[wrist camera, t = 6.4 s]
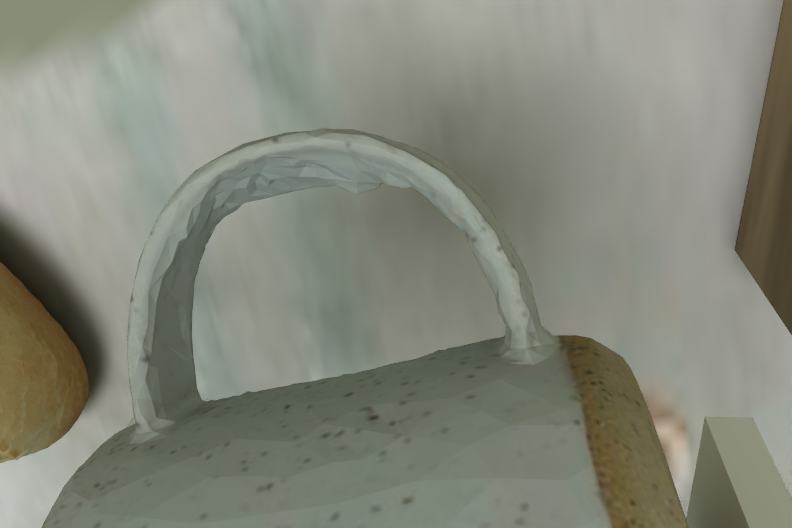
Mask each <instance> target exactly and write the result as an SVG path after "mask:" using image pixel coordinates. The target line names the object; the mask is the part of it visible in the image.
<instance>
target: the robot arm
mask: <svg viewBox="0 0 792 528" xmlns="http://www.w3.org/2000/svg"><path fill="white" fill-rule="evenodd" d="M133 424H135V419H134V417H133V419H132V420H131V422H130V423H129V425H128V426H127V427H129V426H131V425H133ZM686 521H687V524H688V527H689V528H792V498H791V496H790V494H789V492H788V490H787V488H786V486H785V484H784V482H783V480H782V478H781V476H780V474H779V472H778V470H777V467H776V465H775V463H774V461H773V459H772V457H771V455H770V453H769V451H768V449H767V447H766V445H765V443H764V441H763V439H762V437H761V435H760V433H759V431H758V429H757V426H756V424H755V422H754V420H753V418H726V417H705V420H704V426H703V431H702V437H701V442H700V447H699V453H698V458H697V464H696V469H695V475H694V480H693V486H692V491H691V496H690V502H689V507H688V513H687V518H686Z"/></svg>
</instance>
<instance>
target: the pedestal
mask: <svg viewBox="0 0 792 528" xmlns="http://www.w3.org/2000/svg"><path fill="white" fill-rule="evenodd" d="M735 251H736V253H737V254H738V256H739V257H740V259H741V260H742V261H743V263H744V264H745V266H746V267H747V269H748V270H749V272H750V273H751V275H752V276H753V278H754V279H755V281H756V282H757V284H758V285H759V287H760V288H761V290H762V291H763V293H764V294H765V296H766V297H767V299H768V300H769V302H770V303H771V305H772V306H773V308H774V309H775V311H776V312H777V314H778V315H779V317H780V318H781V320H782V321H783V323H784V324H785V326H786V327H787V329H788V330H789V332H790V333H791V335H792V0H784V4H783V9H782V14H781V19H780V24H779V29H778V34H777V39H776V44H775V49H774V55H773V60H772V65H771V70H770V75H769V80H768V85H767V90H766V95H765V100H764V105H763V110H762V115H761V121H760V126H759V131H758V136H757V141H756V146H755V151H754V156H753V161H752V166H751V171H750V176H749V181H748V187H747V192H746V197H745V202H744V207H743V212H742V217H741V222H740V227H739V232H738V237H737V242H736V247H735Z"/></svg>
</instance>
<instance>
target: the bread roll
mask: <svg viewBox="0 0 792 528" xmlns="http://www.w3.org/2000/svg"><path fill="white" fill-rule="evenodd" d="M88 397H89V384H88V374H87V370H86V367H85V365H84V362H83V360H82V357H81V355H80V353H79V351H78V349H77V347H76V346H75V344H74V343H73V342H72V341H71V339H70V338H69V337H68V335H67V334H66V332H65V331H64V329H63V328H62V326H61V325H60V324H59V323H58V322H57V321H56V320H55V319H54V318H53V317H52V316H51V315H50V314H49V313H48V312H47V310H46V309H45V308H44V306H43V305H42V303H41V302H40V301H38V300H37V299H36V298H35V297H34V296H33V295H32V294H31V293H30V292H29V291H28V290H27V289H26V287H25V286H24V284H23V283H22V282H21V281H20V280H19V279H18V278H16V277H15V276H14V275H13V274H12V273H11V272H10V271H9V270H8V269H7V267H5V266H4V265H3V264H2V263H1V262H0V463H2V462H5V461H9V460H14V459H15V460H17V459H19V458H20V457H22V456H26V455H29V454H32V453H35V452H37V451H40V450H43V449H45V448H48V447H49V446H50V445H52V444H53V443H54V442H56V441H57V440H59V439H60V438H61V437H62V436H64V435H65V434H66V433H67V432H68V431H69V430H70V429H71V427H72V426H73V425H74V423H75V422H76V421H77V419H78V418H79V416H80V414H81V412H82V410H83V409H84V407H85V404H86V402H87V399H88Z"/></svg>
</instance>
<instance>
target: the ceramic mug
mask: <svg viewBox="0 0 792 528" xmlns="http://www.w3.org/2000/svg"><path fill="white" fill-rule="evenodd" d="M382 183H383V184H386V185H391V186H395V187H399V188H406V187H413V188H414V189H416V190H417V191H418V192H419V193H421V194H422V195H423V196H425V197H426V198H427V199H428V200H429V201H430V202H431V203H433V204H434V205H435V206H436V207H437V208H438V209H439V210H440V211H441V212H442V213H443V214H444V215H445V216H446V217H447V218H448V219H449V220H450V221H451V222H453V223H454V224H455V225H456V226H457V227H459V228H460V229H461V230H462V231H463V232H465V235H466V237H467V240H468V243H469V245H470V247H471V249H472V251H473V253H474V255H475V256H476V258H477V260H478V262H479V264H480V266H481V268H482V270H483V272H484V274H485V276H486V278H487V280H488V282H489V284H490V286H491V287H492V289H493V291H494V293H495V296H496V300H497V305H498V309H499V313H500V315H501V317H502V319H503V321H504V323H505V325H506V334H505V336H504V337H501V338H495V339H489V340H485V341H480V342H476V343H472V344H468V345H464V346H460V347H454V348H448V349H446V350H438V351H436V352H434V353H431V354H428V355H426V356H423V357H420V358H417V359H413V360H408V361H403V362H399V363H394V364H390V365H386V366H382V367H379V368H376V369H372V370H367V371H362V372H358V373H355V374H344V375H341V376H339V377H333V378H326V379H320V380H317V381H312V382H305V383H298V384H292V385H289V386H285V387H278V388H273V389H268V390H262V391H258V392H246V393H244V394H242V395H240V396H232V397H230V398H224V399H220V400H217V401H214V400H210V401H208V402H207V401H203V400H202V399H201V397H200V395H199V392H198V390H197V385H196V375H195V366H194V360H193V346H192V308H193V295H194V281H195V277H196V274H197V271H198V268H199V264H200V260H201V258H202V255H203V253H204V250H205V245H206V244H207V242H208V240H209V238H210V237H211V235H212V233H213V231H214V229H215V227H216V225H217V224H218V223H219V222H220V221H221V220H222V219H223V218H224V217H225V216H227V215H229V214H230V213H232V212H234V211H236V210H237V209H238V208H239V207H240V206H241V205H242V204H243V203H246V202H250V201H255V200H260V199H264V198H268V197H272V196H276V195H280V194H284V193H288V192H292V191H297V190H303V189H308V188H314V187H324V186H339V187H342V188H344V189H346V190H349V191H351V192H353V193H356V194H359V193H363V192H366V191H369V190H372V189H375V188H378V187H380V185H381V184H382ZM127 344H128V366H129V380H130V390H131V395H132V403H133V414H134V419H135V424H133V425H131V426H129V427H127V428H125V429H123V430H122V431H120V432H118V433H116V434H115V435H113V436H112V437H111V438H110V439H108V440H107V441H106V442H105V443H103V444H102V445H101V446H100V447H99V448H98V449H97V450H96V451H95V452H94V453H93V454H92V455H91V456H90V458H89V459H88V460H87V461H86V462H85V463H84V464H83V465H82V466H80V467H79V468H78V470H77V471H76V472H75V473H74V475H73V476H72V477H71V478H70V480H69V481H68V482H67V483H66V485H65V486H64V488H63V489H62V491H61V493H60V495H59V496H58V498H57V500H56V502H55V503H54V505H53V507H52V509H51V511H50V513H49V514H48V516H47V518H46V520H45V522H44V524H43V526H42V528H689V527H688V524H687V521H686V518H685V515H684V512H683V509H682V506H681V503H680V500H679V497H678V494H677V491H676V488H675V485H674V482H673V479H672V476H671V473H670V470H669V467H668V464H667V461H666V458H665V455H664V452H663V449H662V446H661V444H660V441H659V438H658V435H657V432H656V429H655V426H654V423H653V420H652V417H651V415H650V412H649V409H648V407H647V405H646V402H645V400H644V397H643V395H642V393H641V390H640V388H639V385H638V383H637V381H636V379H635V377H634V375H633V373H632V371H631V369H630V367H629V366H628V364H627V363H626V361H625V360H624V359H623V357H621V356H620V355H618V354H617V353H615V352H613V351H612V350H610V349H609V348H607V347H605V346H604V345H602V344H600V343H598V342H596V341H595V340H593V339H591V338H587V337H581V336H553V335H552V334H551V333H549V332H548V331H547V330H546V329H545V328H544V327H543V326H541V323H540V319H539V315H538V311H537V307H536V303H535V300H534V297H533V294H532V286H531V283H530V280H529V278H528V275H527V273H526V271H525V268H524V266H523V264H522V262H521V260H520V258H519V257H518V255H517V253H516V252H515V250H514V248H513V246H512V245H511V243H510V241H509V240H508V238H507V236H506V234H505V233H504V231H503V229H502V227H501V225H500V224H499V222H498V220H497V219H496V217H495V215H494V214H493V212H492V210H491V209H490V207H489V206H488V205H487V204H486V202H485V201H484V200H483V199H482V198H481V197H480V196H479V195H478V194H477V193H476V192H475V191H474V190H473V189H472V188H471V187H470V186H469V185H468V184H467V183H466V182H465V181H464V180H463V179H462V178H461V177H460V176H459V175H458V174H457V173H456V172H454V171H453V170H452V169H451V168H449V167H448V166H446V165H445V164H443V163H442V162H440V161H439V160H437V159H436V158H434V157H432V156H430V155H428V154H426V153H424V152H422V151H420V150H418V149H416V148H413V147H410V146H408V145H405V144H403V143H399V142H395V141H392V140H389V139H387V138H384V137H381V136H376V135H372V134H368V133H364V132H360V131H356V130H352V129H319V130H313V131H303V132H289V133H283V134H279V135H276V136H272V137H268V138H264V139H260V140H256V141H252V142H248V143H245V144H242V145H240V146H238V147H236V148H235V149H233V150H231V151H229V152H227V153H225V154H223V155H222V156H220V157H218V158H216V159H214V160H212V161H211V162H209V163H207V164H206V165H204V166H203V167H201V168H199V169H198V170H196V171H195V172H194V173H193V174H192V175H191V176H190V177H189V178H188V179H187V180H186V181H185V182H184V183H183V184H182V185H181V186H180V187H179V188H178V189H177V190H176V192H175V193H174V194H173V195H172V196H171V198H170V199H169V201H168V202H167V204H166V206H165V207H164V209H163V210H162V212H161V213H160V215H159V217H158V219H157V221H156V223H155V225H154V227H153V230H152V232H151V234H150V236H149V238H148V240H147V243H146V245H145V247H144V249H143V252H142V254H141V257H140V259H139V264H138V268H137V273H136V278H135V282H134V286H133V291H132V296H131V300H130V312H129V323H128V334H127Z"/></svg>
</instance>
